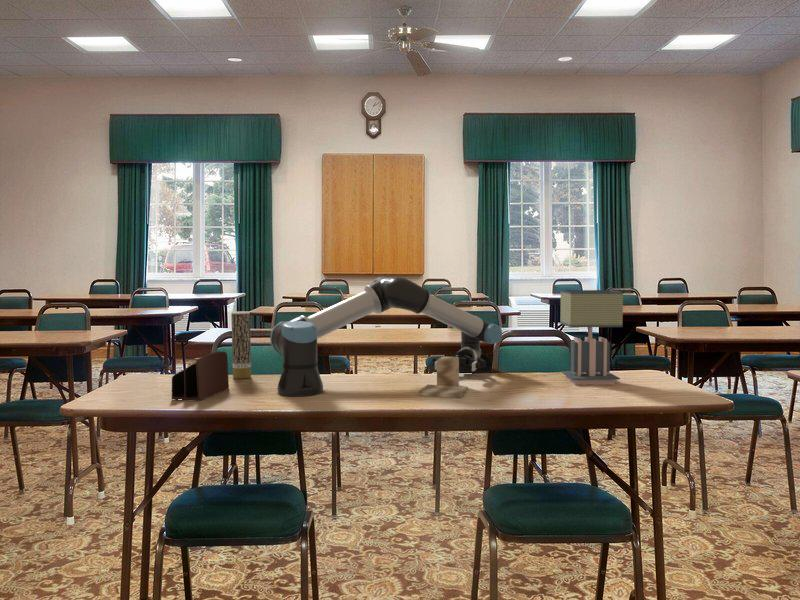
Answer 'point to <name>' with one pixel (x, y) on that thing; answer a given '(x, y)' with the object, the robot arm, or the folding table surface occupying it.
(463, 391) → the board
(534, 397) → the folding table surface
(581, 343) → the desk lamp
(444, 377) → the block
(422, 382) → the folding table surface
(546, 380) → the folding table surface
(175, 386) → the letter holder
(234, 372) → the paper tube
